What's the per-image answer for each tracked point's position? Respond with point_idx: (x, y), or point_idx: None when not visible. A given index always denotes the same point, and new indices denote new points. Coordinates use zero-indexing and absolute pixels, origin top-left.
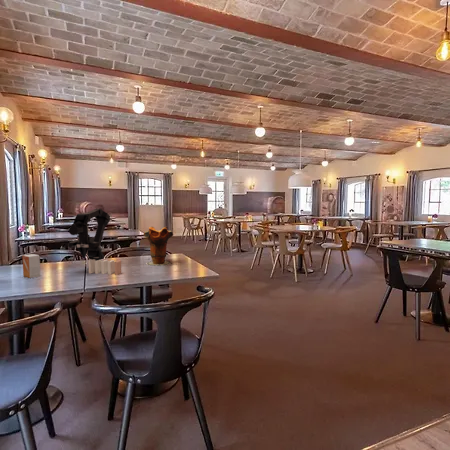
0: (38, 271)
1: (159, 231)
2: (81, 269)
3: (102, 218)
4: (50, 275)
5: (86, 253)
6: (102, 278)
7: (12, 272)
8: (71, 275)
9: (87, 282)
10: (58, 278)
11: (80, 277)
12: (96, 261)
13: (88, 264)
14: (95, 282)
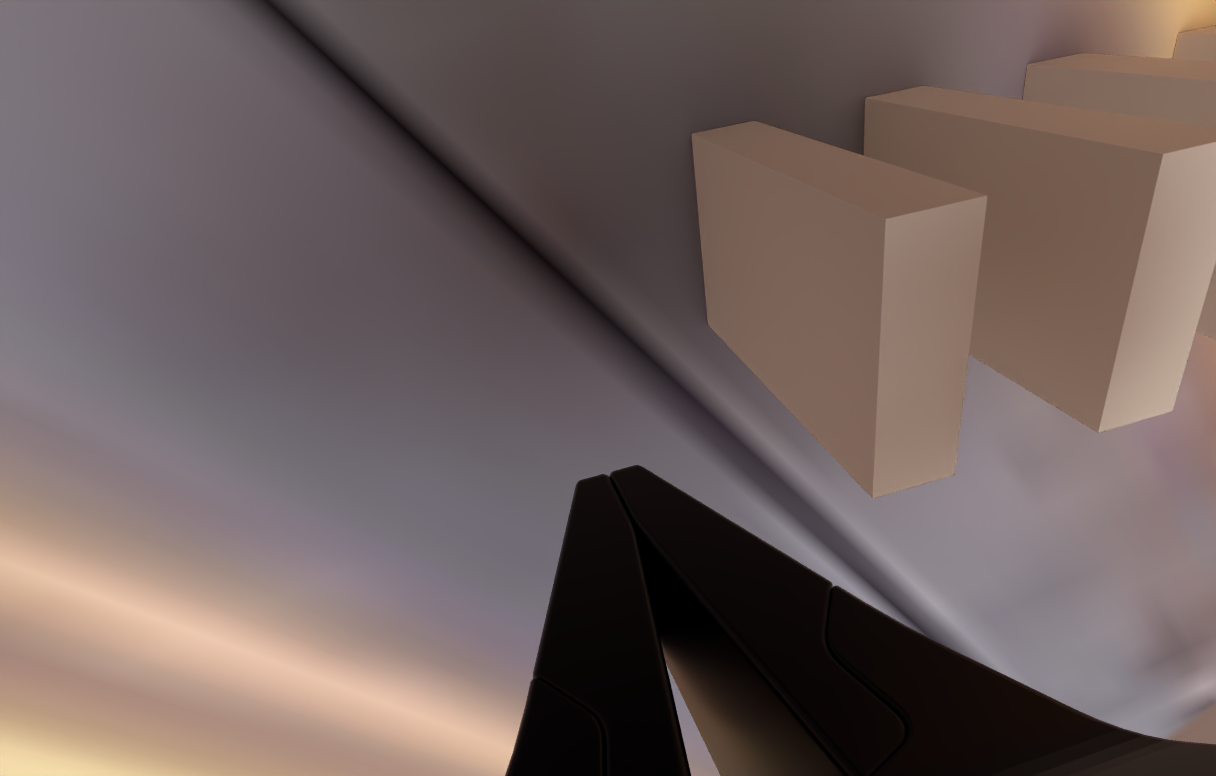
0: None
1: None
2: (60, 5)
3: None
4: (105, 763)
5: (782, 559)
6: (1130, 475)
7: None
8: (506, 584)
9: (1019, 675)
10: (485, 769)
11: None
12: (1141, 412)
13: (809, 431)
14: (1111, 632)
